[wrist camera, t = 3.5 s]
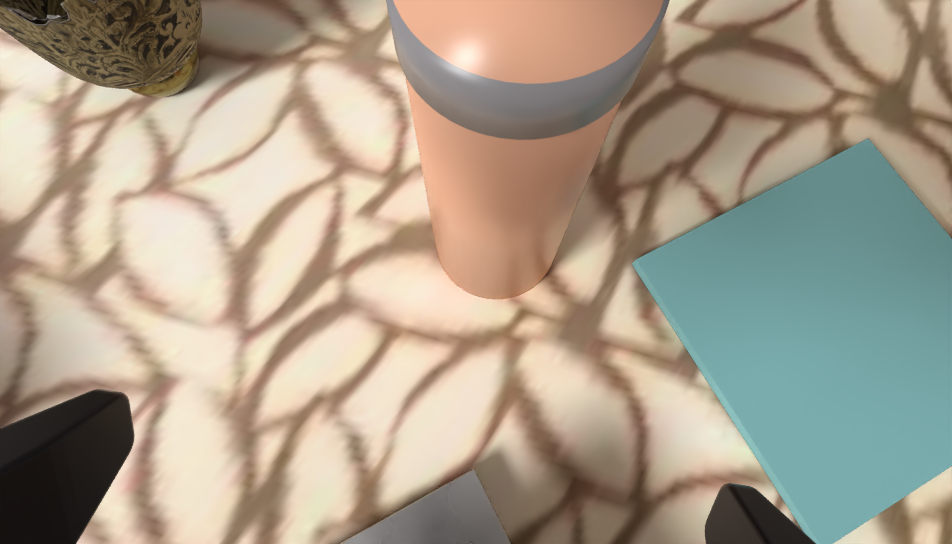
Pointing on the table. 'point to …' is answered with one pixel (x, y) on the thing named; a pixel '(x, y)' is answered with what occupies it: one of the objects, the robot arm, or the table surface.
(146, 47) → the cup
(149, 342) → the table surface
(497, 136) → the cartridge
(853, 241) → the mat
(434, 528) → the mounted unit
